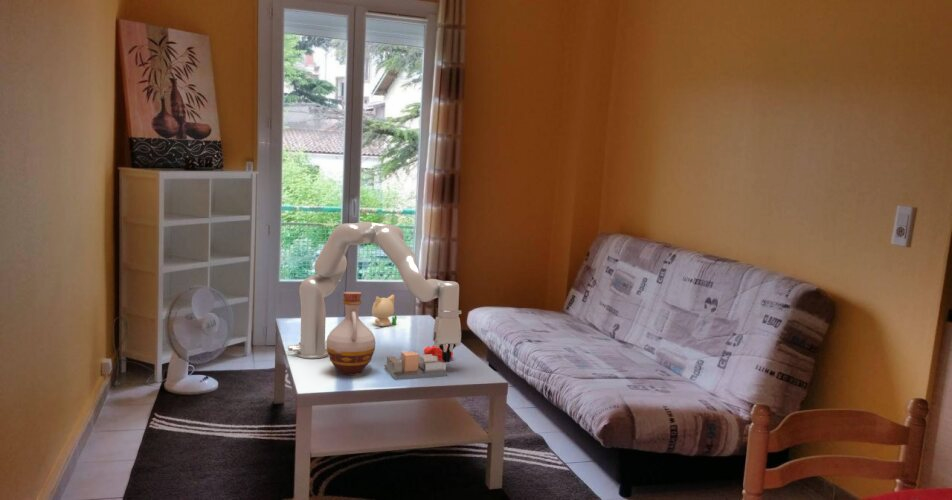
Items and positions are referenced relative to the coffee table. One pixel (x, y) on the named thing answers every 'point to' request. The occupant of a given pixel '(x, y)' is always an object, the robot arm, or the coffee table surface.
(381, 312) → the kitten
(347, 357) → the jug
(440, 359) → the animal figurine
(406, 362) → the block
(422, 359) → the light grey sliding block
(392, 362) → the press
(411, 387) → the coffee table surface
